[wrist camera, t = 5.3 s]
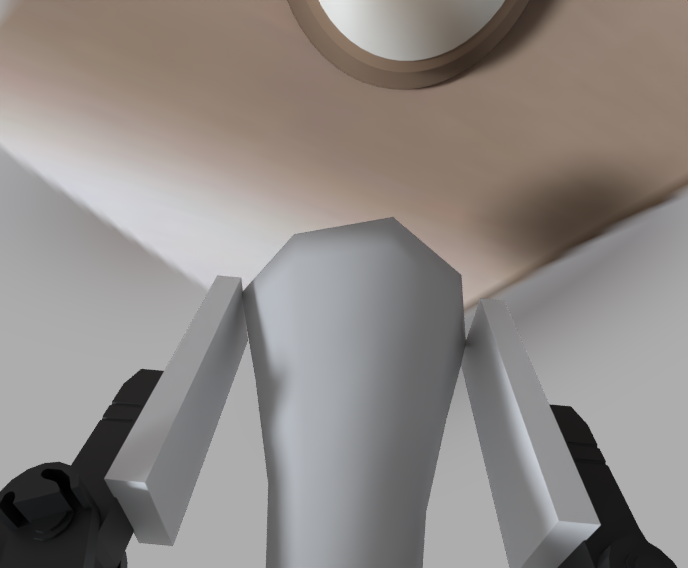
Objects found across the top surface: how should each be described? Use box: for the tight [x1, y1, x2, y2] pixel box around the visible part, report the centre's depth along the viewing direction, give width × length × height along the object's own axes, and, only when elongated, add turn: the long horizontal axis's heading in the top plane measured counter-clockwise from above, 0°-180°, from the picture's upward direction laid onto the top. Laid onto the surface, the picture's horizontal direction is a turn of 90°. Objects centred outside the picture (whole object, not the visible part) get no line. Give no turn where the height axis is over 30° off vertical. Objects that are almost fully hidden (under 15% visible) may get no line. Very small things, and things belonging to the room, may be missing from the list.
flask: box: [242, 217, 466, 568], centre depth 9 cm, size 7×7×10 cm
